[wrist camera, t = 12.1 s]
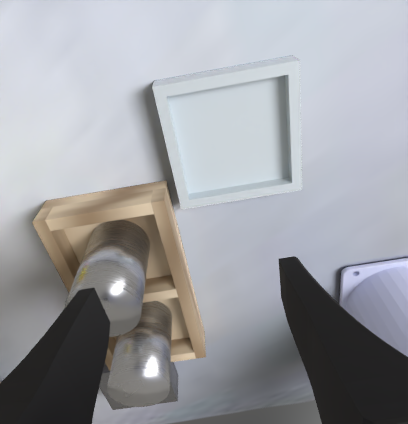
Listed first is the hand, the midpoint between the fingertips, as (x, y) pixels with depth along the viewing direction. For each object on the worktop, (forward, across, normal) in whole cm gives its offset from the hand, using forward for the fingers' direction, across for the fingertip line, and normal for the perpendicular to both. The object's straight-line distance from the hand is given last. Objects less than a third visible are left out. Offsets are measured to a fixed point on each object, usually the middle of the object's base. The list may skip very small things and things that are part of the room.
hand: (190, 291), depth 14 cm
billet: (+9, +5, +4) cm, 12 cm away
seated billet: (+9, +6, +11) cm, 16 cm away
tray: (+10, -3, -2) cm, 11 cm away
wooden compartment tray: (+10, +6, +8) cm, 14 cm away
